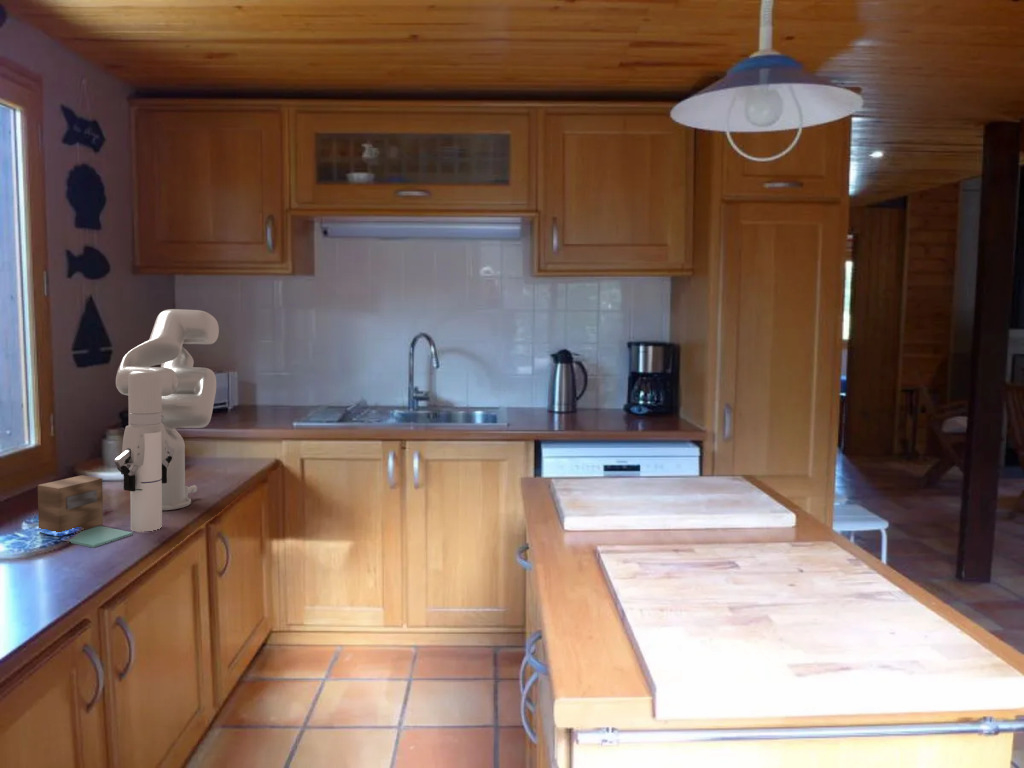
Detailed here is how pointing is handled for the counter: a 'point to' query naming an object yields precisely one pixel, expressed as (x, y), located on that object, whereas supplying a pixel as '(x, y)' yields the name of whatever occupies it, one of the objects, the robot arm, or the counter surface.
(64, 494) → the walnut housing
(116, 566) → the counter surface
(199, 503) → the counter surface
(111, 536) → the teal pad
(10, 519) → the counter surface
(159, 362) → the robot arm
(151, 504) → the cylindrical container
